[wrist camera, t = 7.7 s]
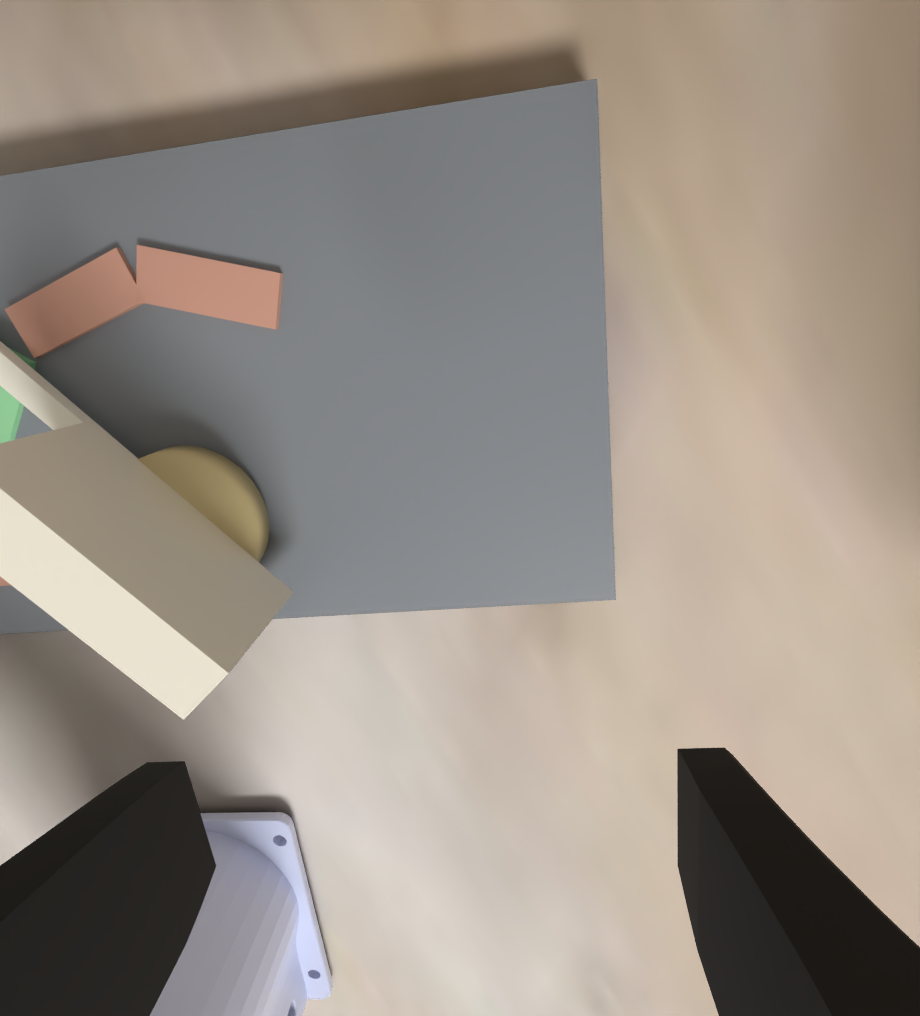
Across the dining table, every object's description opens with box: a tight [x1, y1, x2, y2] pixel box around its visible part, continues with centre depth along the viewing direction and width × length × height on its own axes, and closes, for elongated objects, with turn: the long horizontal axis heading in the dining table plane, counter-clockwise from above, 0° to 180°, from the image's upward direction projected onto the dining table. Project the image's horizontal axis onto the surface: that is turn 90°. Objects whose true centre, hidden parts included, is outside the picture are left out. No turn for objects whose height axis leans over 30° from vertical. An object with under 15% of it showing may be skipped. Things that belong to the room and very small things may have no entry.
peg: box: [0, 341, 294, 720], centre depth 15 cm, size 12×4×5 cm, turn 47°
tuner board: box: [0, 79, 616, 634], centre depth 17 cm, size 13×24×1 cm, turn 96°
